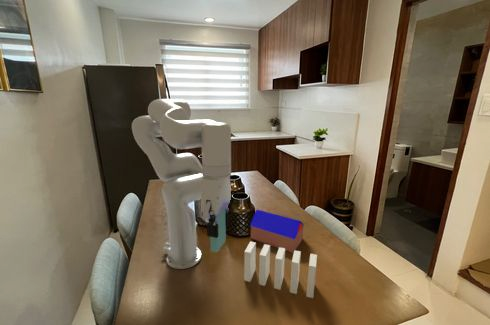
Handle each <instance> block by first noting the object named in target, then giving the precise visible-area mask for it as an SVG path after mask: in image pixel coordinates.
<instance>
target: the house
mask: <svg viewBox="0 0 490 325" xmlns="http://www.w3.org/2000/svg"><path fill="white" fill-rule="evenodd" d="M249 226H250V239H252V240H255V241H257V242H259V243H260V242H261V243H263V244H266V245H270V246H272V247H276V248H278V249H279V247H281V248H285V252H286V251H287V252H290V253H292V254H294V250H296V251H297V249H298V247H299V245H300V244H301V243H302V240H303V237H304V226H305V224H304V223H303V222H302V221H301V220H299V219H296V218H295V219H294V218H290V217H287V216H283V215H279V214H276V213H272V212H267V211H264V210H260V209H256V210H255V212H254V215H253V217H252V220H251V222H250V225H249Z"/></svg>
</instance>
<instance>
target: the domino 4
mask: <svg viewBox="0 0 490 325" xmlns="http://www.w3.org/2000/svg"><path fill="white" fill-rule="evenodd" d="M285 257H286V250H285V248H281V247H279V248H278V250H277V252H276V255H275V258H274V259H275V260H274V282H273V288H274V289H275V290H279V291H281V289H282V284H283V281H284V278H285V259H286V258H285Z"/></svg>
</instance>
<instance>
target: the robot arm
mask: <svg viewBox="0 0 490 325" xmlns="http://www.w3.org/2000/svg"><path fill="white" fill-rule="evenodd" d="M147 113H148V115H141V116H138V117H136V118H134V120H132V122H131V130H132V131H131V132H132V134H133V138H134V140H135V142H136V143H137V145H138V146H139V148H140V149H141V150H142V151H143V153H144V154H145V155H147V158H148V160H149V161H150V162H149V163H151V165H152V167H153V169H154V172H155V173H156V176H158V178H159V179H160V180H161V181H162V182H163V181H164V183H163V185H162V189H161V192H162V197H163V201H164V205H165V208H166V214H167V228H168V237H169V242H167V241H166V242H164V244H163V248H162V252H167V253H168V254H167V256H166V263H167V265H168V266H169V267H170V268H172V269H176V270H185V269H188V268H191V267H192V268H193V267H194V266H195V265H197V264H198V263H199V262H200V261H201V258H202V251H201V250H200V248H198V246H197V230H196V229H197V228H196V226H197V224H196V214H195V211H194V210H193V209H192V208H191V207H190V206H189V204H190V203H192V202H193V203H194V202H197V201H198V200H200V199H201V212H202V213H203V216H201V219H202V221H204V222H205V225H206V236H208V237H209V238H210V237H214V238H218V224H217V218H218V214H219V213H220V212H221V211H222V210H223V209H224V208H225V209H226V214H225V218H226V227H227V226H228V225H229V211H230V210H229V208H228V205H229V203H230V200H231V185H232V184H231V176H232V128H231V125H230V124H229V123H227V122H221V121H215V120H213V119H190V118H191V115H192V109H191V105H190V104H189V103H188V102H187V101H186V100H184V99H181V98H157V99H154V100H152V101H151V102H150V103H149V105H148V107H147ZM160 137H162V139H163V140H161V139H160ZM169 146H170V147H169ZM171 147H172V148H173V149H177V150H188V149H195V148H201V160H202V163H201V162H200V160H199V159H198V157H197V156H196V155H195V154H193V153H191V152H182V153H174V152H173V151H172V150H171ZM211 210H213V211H214V212H211ZM210 215H214V220H213V219H212V218H210Z"/></svg>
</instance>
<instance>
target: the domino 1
mask: <svg viewBox="0 0 490 325" xmlns="http://www.w3.org/2000/svg"><path fill="white" fill-rule="evenodd" d="M213 212H214V211H213ZM225 214H226V209H225V208H224V209H223V210H222V211H221V212H220V213H219V214H218V218H217V224H218V238H214V237H210V236H209V240H210V241H209V242H210V247H209V248H210V252H214V253H218V252H219V251H220V250H221V248H222V246H223V245H224V244H225V242H226V241H227V239H226V238H227V233H226V231H227V228H226V227H227V226H226V218H225ZM210 218H212V219H213V220H214V215H210Z"/></svg>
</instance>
